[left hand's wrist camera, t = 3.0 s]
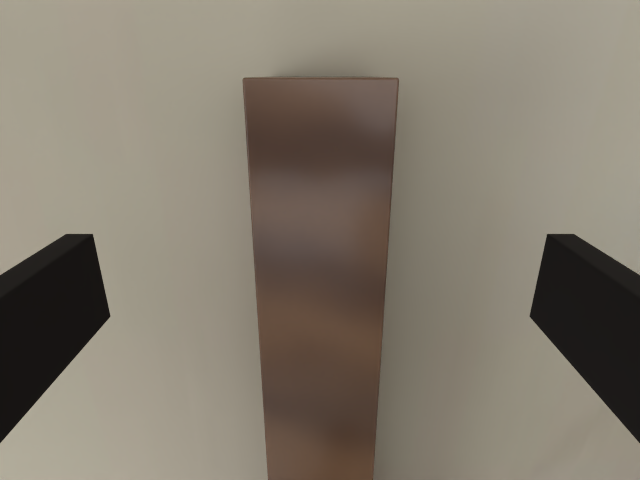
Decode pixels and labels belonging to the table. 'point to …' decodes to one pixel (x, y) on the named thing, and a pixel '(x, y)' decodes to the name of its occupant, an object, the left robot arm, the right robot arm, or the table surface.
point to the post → (320, 265)
